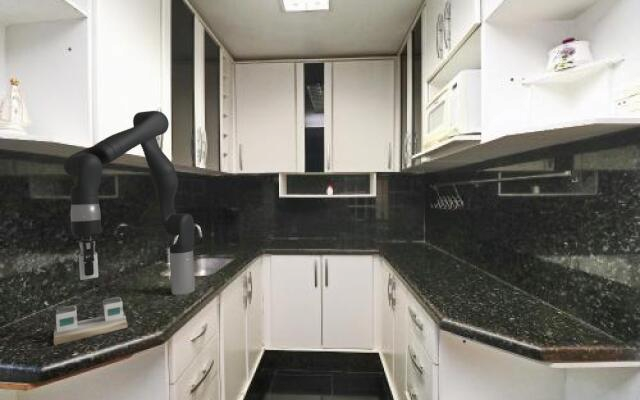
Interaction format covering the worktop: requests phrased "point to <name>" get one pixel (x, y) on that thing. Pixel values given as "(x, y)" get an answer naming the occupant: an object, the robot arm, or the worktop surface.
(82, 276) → the block
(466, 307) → the worktop surface
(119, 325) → the rail board
